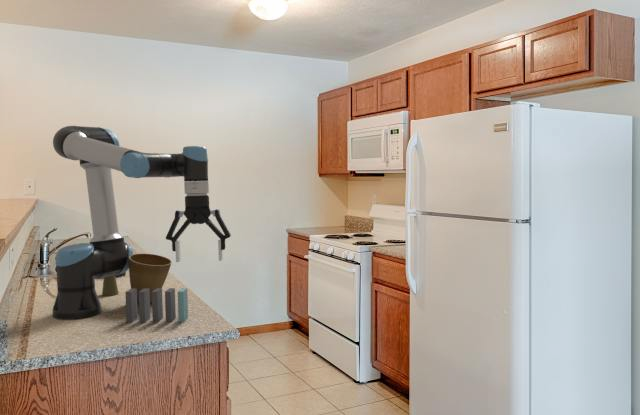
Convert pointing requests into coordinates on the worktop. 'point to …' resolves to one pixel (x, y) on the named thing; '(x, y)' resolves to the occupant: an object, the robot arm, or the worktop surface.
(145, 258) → the plant pot
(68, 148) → the robot arm
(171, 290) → the domino
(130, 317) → the domino
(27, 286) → the worktop surface
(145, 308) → the domino
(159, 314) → the domino
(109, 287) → the cork
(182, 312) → the domino
